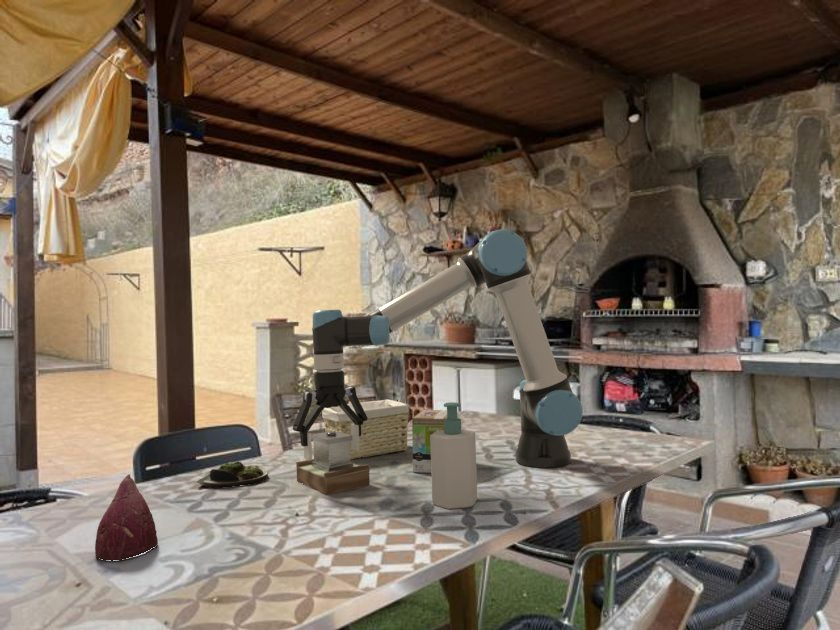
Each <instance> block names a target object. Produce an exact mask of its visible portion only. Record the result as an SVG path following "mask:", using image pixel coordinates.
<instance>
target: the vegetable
mask: <svg viewBox="0 0 840 630" xmlns="http://www.w3.org/2000/svg"><path fill="white" fill-rule="evenodd" d="M150 509H151V508H150V507H149V505H148V503H147V501H146V500H145V498H144V496H143V495H142V493H141V492H140V490H139V488H138V487H137V484H136V482H135V481H134V479H133V478H132V477H131V474H127V475H126V476H125V477H124V478H123V479H122V480H121V482H119V485H118V488H117V490H116V492H115V495H114V497H113V499H112V501H111V502H110V504H109V506H108V507H107V509H106V510H105V512H104V514H103V515H102V518H101V520H100V521H99V523H98V526H97V529H96V536H95V537H96V538H95V544H94V552H95V553H94V554H95V557H96V556H97V557H98V558H100V559H103V560H111V561H113V560H122V559H126V558H129V557H133V556H136V555H139V554H141V553H144V552H146V551H148V550H150V549H151V548H153V547H155V546H156V545H157V544H158V545H159V543H158V536H157V529H156V523H155V519H154V517H153V513H152V512H151V510H150ZM158 545H157V546H158ZM97 557H96V558H97Z"/></svg>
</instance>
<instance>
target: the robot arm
mask: <svg viewBox="0 0 840 630" xmlns="http://www.w3.org/2000/svg"><path fill="white" fill-rule="evenodd" d="M527 249H528V247H527V246H526V243H525V241H524V239H523V238H522V237H521V236H520V235H519V234H518V233H517V232H515V231H512V230H509V229H504V228H503V229H496V230H493V231H491V232H488V233H487V234H485V235H484V236H483V237H482V239H480V240H479V242H477V244H475V246H474V247H472V249H470V250H469V251H467V252H466V253H465V254H463V255H462V256H459V257H458V259H457V262H456V263H455V264H453V265H451V266H449V267H447V268H446V269H444V270H443V271H440V272H439V273H437V274H436V275H434V276H432V277H430V278H429V279H427V280H426V281H424V282H422V283H420V284H418V285H417V286H415V287H412V289H410V290H408V291H406V292H405V293H403V294H401V295H400V296H398V297H397V298H394V299H393V300H391V301H389V302H388V303H386V304H384V305H382V306H380V307H379V308H378V309H376V310H373V311H372V312H370V313H368V314H367V315H365V316H364V315H363V316H360V315H359V316H343V312H342V310H341V309H322V310H321V309H319V310H315V311H314V312H313V313H312V328H311V331H312V345H313V349H312V350H313V369H314V371H315V373H314V376H313V377H314V388H315V391H314V392H309V391H304V392H303V395H302V396H303V397H302V403H301V405H300V407H299V410H298V412H297V415H296V417H295V421H294V423H293V424H292V425H293V426H292V431H294V432H298V433H299V435H300V438H299V439H300V445H301V446H302V447H303V456H304V457H303V459H305V460H312V459H313V448H312V443H313V442H312V440H311V434H312V432H309V430H310V429H311V428H312V426H313V425H314V424H315V422H316V420H317V419H318V417H319V415H320V414H321V413H322V410H323V409H324V408H331V407H338V406H339V407H340V408H341V409H342V410H343V411H344V412H345V413H346V415H347V416H348V417H349V418H350V419H351V420H352V421H353V423H354V424H351V435H352V440H351V445H352V449H353V450H356V451H358V450H360V449H359V436H361V425H362V424H363V422H364V421H367V419H368V418H367V416H366V414H365V412H364V410H363V408H362V406H361V404H360V403H361V401H360V400H359V398H358V396H357V390H356V388H355V387H354V386H347V387H346V388H345V383H346V382H345V371H344V370H342V369H344V368H345V363H344V347H363V346H367V347H368V346H375V347H378V346H381V345H382V346H383V345H388V344H389V343H390V335H391V333H393V332H395V331H396V330H398V329H400V328H401V327H403V326H405V325H407V324H409V323H410V322H412V321H413V320H415V319H418V318H419V317H420V316H423V315H424V314H426V313H428V312H429V311H431V310H433V309H434V308H436V307H438V306H440V305H442V304H444V303H445V302H447V301H448V300H450V299H452V298H453V297H455V296H457V295H459V294H460V293H463V292H465V291H466V290H467V289H469V288H474V289H476V288H478V287H480V286H482V285H484V284H485V285H486V286H487V289H488V290H487V291H490V292H491V293H494V294H495V295H496V298H497V300H498V304H499V306H500V309H501V313H502V315H503V318H504V322H505V324H506V327H507V330H508V332H509V335H510V339H511V341H512V343H513V346H514V349H515V352H516V356H517V358H518V361H519V365H520V367H521V369H522V372H523V375H524V379H523V380H521V381H520V383H519V390H518V393H519V404H520V405H519V406H520V407H519V408H520V409H519V410H520V428H521V429H520V438H519V440H518V445H517V449H516V451H515V462H516V463H518V464H520V465H522V466H526V467H533V468H557V467H563V466H568V465H569V464H571V462H572V455H571V452H570V450H569V446H568V444H567V443H568V442H567V440H566V437H565V435H568V434H570V433H572V432H573V431H574V430H576V429H577V427H578V426H579V425H580V424H581V421H582V418H583V406H582V403H581V401H580V400H579V397H578V396H577V395H576V394H575V393H573V390H572V387H571V384H570V382H569V378H568V375H567V374H565V373H563V372H562V371H560V370H559V369H558V365H557V363H556V359H555V357H554V353H553V351H552V349H551V348H552V347H551V346H550V343H549V340H548V337H547V333H546V331H545V328H544V326H543V322H542V320H541V316H540V314H539V311H538V308H537V305H536V301H535V299H534V297H533V294H532V291H531V288H530V284H529V281H530V278H531V276H532V273H531V269H530V266H529V264H528V261H527V259H528V250H527ZM345 396H347V397H348V400H349V401H350V404H352V406H353V408H354V410H355V412H356V414H357V415H356V414H355V412H354V411H353V410H352V409H351V408H350V407H349V406H348V404H349V403H348V402H347V401H346V400H345ZM314 399H315V400H316V402H315V403H314V404H313V407H312V409H311V410H310V408H311V405H312V402H313V401H314ZM309 411H310V412H309ZM308 413H309V414H308Z"/></svg>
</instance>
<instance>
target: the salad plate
mask: <svg viewBox="0 0 840 630" xmlns="http://www.w3.org/2000/svg"><path fill="white" fill-rule="evenodd" d="M268 475H269V474H268V472H267V470H266V468H265V467H264V466H263V465H258V464H257V465H244V464H243V463H242V461H239V460H237V461H235V462H233V463H232V461H228V463H226V462H225V463H224V464H221V465H220V467H218V468H217V469H215V468H212V469H211V470H209V471H206V472H204V473H203V474H202V475H201V478H199V479H198V480H197V481H196V483H197V484H200V485H202V486H205V487H206V488H209V487H211V488H210V489H224V488H223V487H228V488H233V487H232V486H237V487H241V486H240V485H245V486H249V485H248V484H251V485H255V484H254V483H256V484H258V482H259V483H261V481H262V482H263V481H265V480H266V479H267V478H268Z"/></svg>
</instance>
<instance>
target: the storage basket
mask: <svg viewBox="0 0 840 630" xmlns="http://www.w3.org/2000/svg"><path fill="white" fill-rule="evenodd" d="M360 404H361V406H362V408H363V410H364V412H365V414H366V416H367V418H368V419H367V421H364V422H363V424H362V425H361V436H359V449H360V450H358V451H356V450H353V449H352V445H351V441H350V461H351V459H352V460H354V459H355V460H356V459H361V457H362V458H368V457H373V456H380V455H382V456H383V455H386V454H389V453H392V454H393V453H395V452H402V451H407V449H408V430H409V429H408V426H409V425H408V424H409V421H408V420H409V411H410V410H409V404H408V403H405V402H400V401H397V400H392V399H382V400H372V401H362V402H361V401H360ZM348 406H349V407H350V408H351V409H352V410H353V411H354V412H355V410H354V408H353V406H352V404H351V403H348ZM321 413H322V414H321V415H322V416H321V417H322V419H323V422H324V431H325V432H330V431H337V432H341V433H345V434H349V435H351V424H354V423H353V421H352V420H351V419H350V418H349V417H348V416H347V415H346V413H345V412H344V411H343V410H342V409H341V408H340V407H339V406H338V407H331V408H324V409H323V410H322V411H321ZM355 414H356V412H355ZM356 415H357V414H356Z"/></svg>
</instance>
